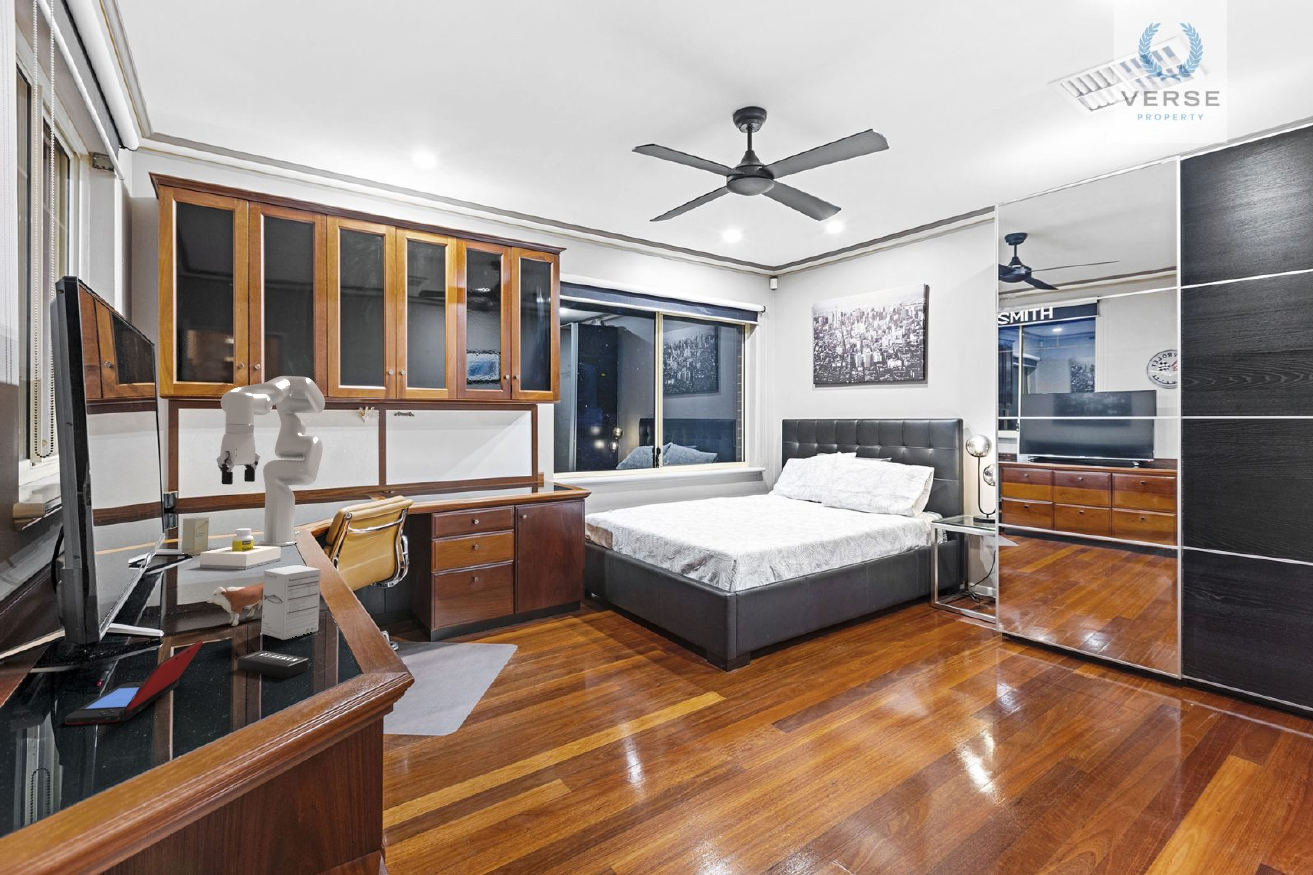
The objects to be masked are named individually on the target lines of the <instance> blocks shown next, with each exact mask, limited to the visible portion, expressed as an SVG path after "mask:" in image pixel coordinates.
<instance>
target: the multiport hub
mask: <svg viewBox="0 0 1313 875" xmlns="http://www.w3.org/2000/svg"><path fill="white" fill-rule="evenodd" d="M309 659H310V658H309V657H303V656H298V655H291V654H287V653H280V652H276V651H275V652H274V651H269V650H257V651H255V652H251V653H248V654H245V655H242V656H239V657H237V661H236V670H237V671H240V672H245V673H252V674H257V675H262V676H267V677H271V678H272V677H274V678H276V679H277V678H279V679H284V680H285V679H289V678H292V677H294V676H297V675H301V674H303V673H305V672H307V671H309V664H310V660H309Z"/></svg>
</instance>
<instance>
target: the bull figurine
mask: <svg viewBox="0 0 1313 875" xmlns="http://www.w3.org/2000/svg"><path fill="white" fill-rule="evenodd" d="M263 585H264V581H262V582H260V583H256V584H255V583H254V584H252V585H248V586H239V587H236V586H229V587H227V588H223V587H222V586H218V587H217V588H216V589H214V590H213V591H212V592H211V594H210V595H209V597H208V598H207V599H206V603H209V604H212V603H213V604H215V605H217V606H218V605H219V606H221V607H222V609H224V610H225V611H226V612H228V614H229V616H230V620H228V624H231V625H230V626H232V627H237V626H238V625H239V623H240V622H239V618H240V616H241V613H242V611H243V609H244V608H247V610H249V611H250V612H249V613H248V614H247V615H246V618H252V616H255V610H256V609H257V610H261V607H262V606H263Z"/></svg>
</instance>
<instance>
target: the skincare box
mask: <svg viewBox="0 0 1313 875" xmlns="http://www.w3.org/2000/svg"><path fill="white" fill-rule="evenodd" d="M209 524H210V517H209V516H195V517H193V516H192V517H187V518H182V538H181V540H182V541H181V554H182V553H184V554H188V555H187V556H195V555H200V553H201V552H206V551H209V550H208V548H209V526H210V525H209Z"/></svg>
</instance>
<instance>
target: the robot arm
mask: <svg viewBox="0 0 1313 875" xmlns="http://www.w3.org/2000/svg"><path fill="white" fill-rule="evenodd" d="M220 406H221V410H222V411H223V412H224V413H225V429H224V430H225V431H224V432H225V433H224V434H223V436H222V441H221V446H220V456H217V458H216V459H215V460H216V462H217V464H218V465H217V466H218V468H219V469H220V470H219V471H220V472H221V484H222V485H233V484H234V482H233V481H234V472H233V471H232V470H233V468H234V467H235V466H244V467H245V469H244V475H243V476H244V478H243V479H244V480H243V481H244V482H248V483H249V482H250V483H253V482H255V481H256V469H257V466H258V465H259V462H260V461H259V460H260V458H261V456H260V455H259V454H257V453H256V442H255V441H256V440H255V434H254V432H255V431H254V430H255V429H254V424H255V423H254V422H255V421H254V420H255V418H254V417H255V416H264V415H267V414H269V413H270V412H271V410H272V409H273V406H275V407H276V411H277V414H278V417H279V420H280V428H279V432H278V437H277V440H276V442H275V447H274V454H275V456H276V458H278V459H274V460H270V461H267V462H266V463H265V465H263V468H262V473H263V480H264V488H265V489H264V491H265V492H264V493H265V494H264V495H265V496H264V498H265V499H264V518H263V519H264V520H263V521H264V522H263V523H264V524H263V540H260V541H259V542H258V544H257V546H273V547H284V546H292V545H296V544H295V542H296V540H297V541H298V542H299V540H298V539H295V538H296V537H300V536H301V535H302V534H301V531H300V530H297V531H295V530H294V529H295V508H296V496H295V494H294V491H293V490H292V489H291V488H290V487H291V486H311V485H312V484H314V483H315V482H316V479H317V477H318V473H319V468H320V464H321V461H322V455H323V443H322V439H320V438H319V437H318V436H315V435H306V430H307V427H306V426H307V425H306V423H305V422H304V421H303V420H302V418H301V417H300V416H299V415H298V414H320V413H322V412H323V411H324V409H325V408H326V407H325V406H326V400H325V397H324V394H323V393H322V391H321V390H320V388H319V386H317V384H316V383H315V381H314V380H312V379H311V378H309V377H306V376H294V375H293V376H292V375H281V376H277V377H274V378H272V379H270V380H268V381H266V382H263V383H261V382H260V383H255V384H252V385H251V384H250V385H244V386H239V387H236V388H232V389H230V390H228V391H226V392H225V393H224V394H223V395H222V397H221V399H220Z"/></svg>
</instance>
